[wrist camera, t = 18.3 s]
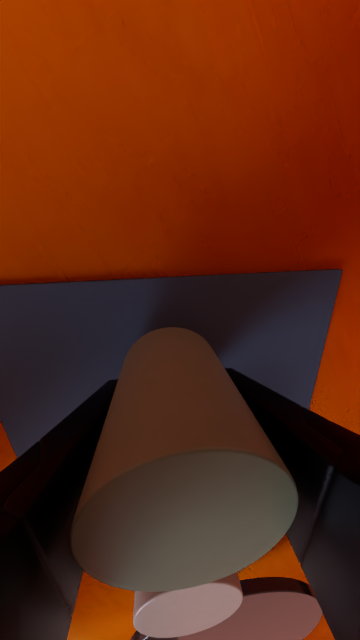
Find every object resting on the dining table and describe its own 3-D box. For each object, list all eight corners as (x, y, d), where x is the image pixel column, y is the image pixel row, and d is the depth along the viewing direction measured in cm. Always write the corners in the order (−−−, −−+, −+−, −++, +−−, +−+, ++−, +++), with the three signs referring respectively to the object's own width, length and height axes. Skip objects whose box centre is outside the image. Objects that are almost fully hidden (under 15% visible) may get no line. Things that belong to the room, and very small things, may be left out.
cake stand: (291, 483, 17) (345, 571, 12) (271, 567, 21) (303, 653, 17) (124, 513, 15) (109, 628, 10) (142, 596, 20) (138, 701, 15)
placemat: (336, 269, 11) (343, 269, 10) (288, 477, 16) (291, 482, 16) (-51, 287, 8) (-61, 288, 8) (50, 518, 14) (47, 525, 14)
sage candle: (217, 323, 9) (320, 431, 3) (214, 401, 10) (282, 567, 5) (116, 330, 8) (35, 473, 3) (129, 411, 10) (94, 610, 4)
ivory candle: (208, 435, 13) (248, 572, 7) (207, 480, 14) (239, 622, 9) (139, 445, 12) (125, 600, 7) (146, 490, 14) (139, 648, 8)
